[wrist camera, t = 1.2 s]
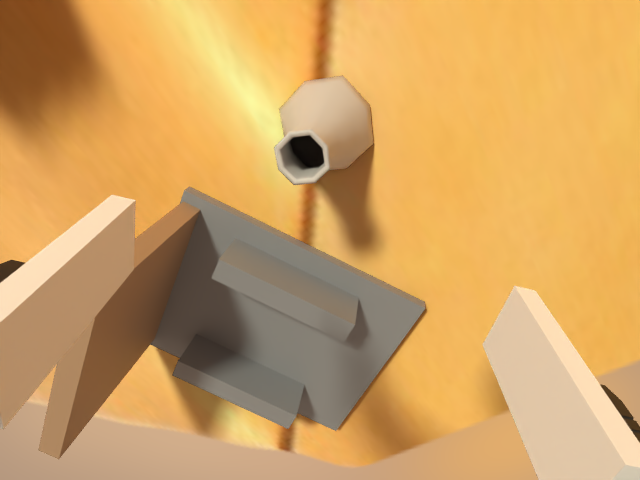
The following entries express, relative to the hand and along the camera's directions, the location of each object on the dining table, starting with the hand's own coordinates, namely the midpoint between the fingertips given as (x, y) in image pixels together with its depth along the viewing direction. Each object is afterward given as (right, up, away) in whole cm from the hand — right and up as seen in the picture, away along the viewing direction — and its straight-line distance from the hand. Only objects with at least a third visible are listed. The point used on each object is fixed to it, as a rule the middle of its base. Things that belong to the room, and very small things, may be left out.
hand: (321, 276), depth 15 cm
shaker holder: (-5, -6, +27) cm, 28 cm away
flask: (+1, +10, +18) cm, 21 cm away
